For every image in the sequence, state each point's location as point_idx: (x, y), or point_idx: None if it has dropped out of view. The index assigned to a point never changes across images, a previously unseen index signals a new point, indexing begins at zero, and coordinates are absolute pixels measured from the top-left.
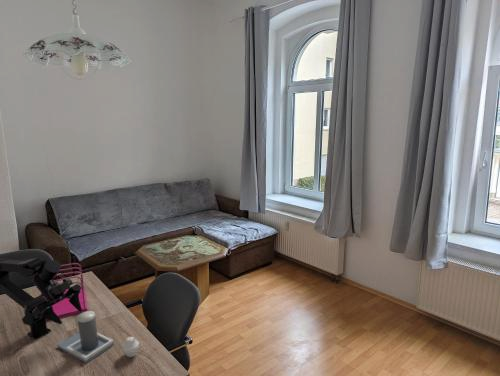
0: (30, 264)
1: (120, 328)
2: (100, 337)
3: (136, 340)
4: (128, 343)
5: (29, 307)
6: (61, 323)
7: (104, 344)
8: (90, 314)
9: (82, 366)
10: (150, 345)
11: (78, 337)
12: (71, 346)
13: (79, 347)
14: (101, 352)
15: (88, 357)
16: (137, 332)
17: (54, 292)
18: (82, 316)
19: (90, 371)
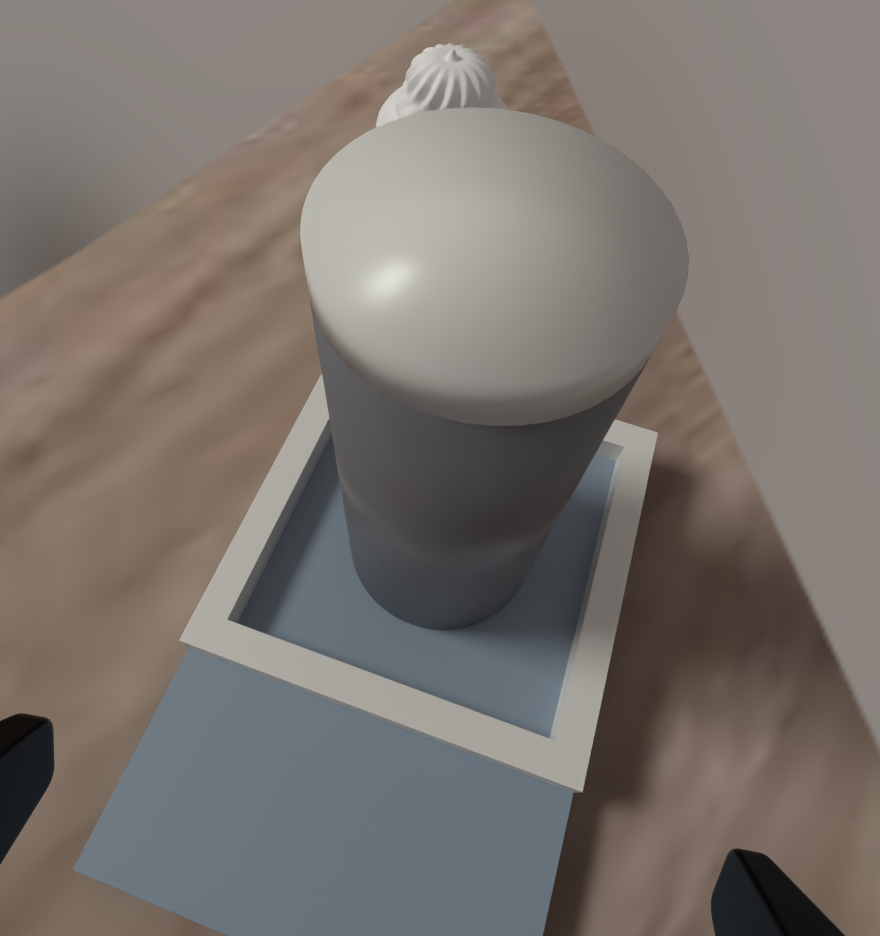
0: None
1: (60, 438)
2: (292, 501)
3: (399, 88)
4: (491, 78)
5: None
6: (730, 869)
7: None
8: (440, 174)
9: (683, 465)
10: (319, 134)
11: (299, 817)
12: (532, 734)
13: (489, 647)
14: None
15: (622, 428)
16: (144, 267)
17: None
18: (556, 277)
19: (704, 371)
